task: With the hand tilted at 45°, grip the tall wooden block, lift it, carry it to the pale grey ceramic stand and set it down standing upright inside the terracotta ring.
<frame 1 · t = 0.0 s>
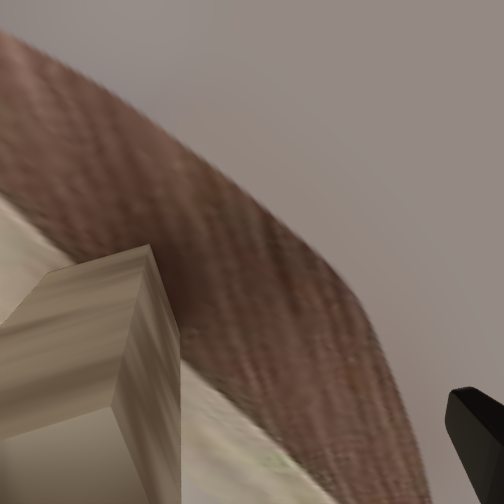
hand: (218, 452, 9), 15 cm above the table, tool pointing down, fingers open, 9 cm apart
wooden block: (116, 304, 24), on the table
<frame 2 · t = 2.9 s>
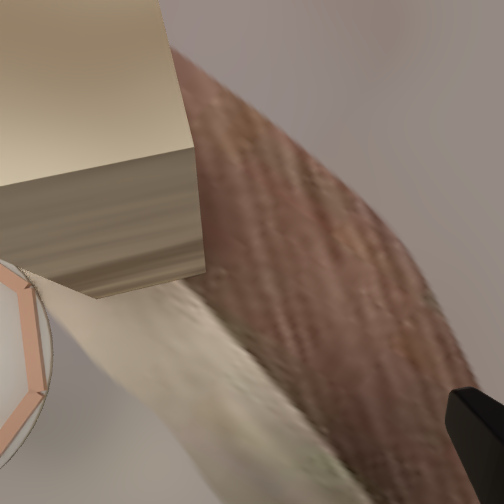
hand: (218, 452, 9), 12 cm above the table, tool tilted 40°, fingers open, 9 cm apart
wooden block: (140, 233, 22), on the table
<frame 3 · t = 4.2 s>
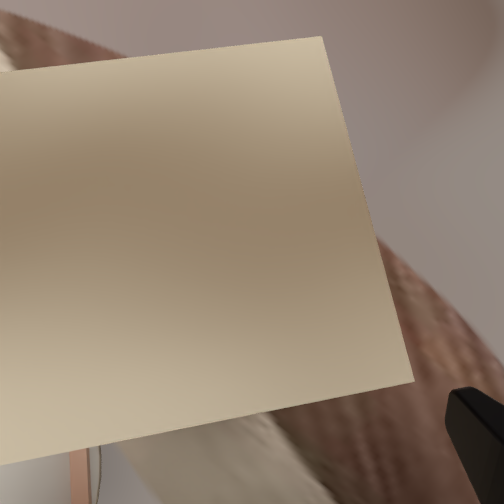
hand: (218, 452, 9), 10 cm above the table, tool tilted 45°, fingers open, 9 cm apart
wooden block: (206, 336, 19), on the table
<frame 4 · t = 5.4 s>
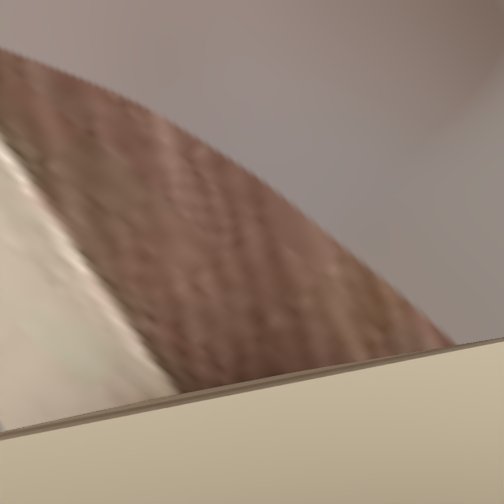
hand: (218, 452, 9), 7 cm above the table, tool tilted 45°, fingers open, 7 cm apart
wooden block: (226, 467, 15), on the table, touching gripper
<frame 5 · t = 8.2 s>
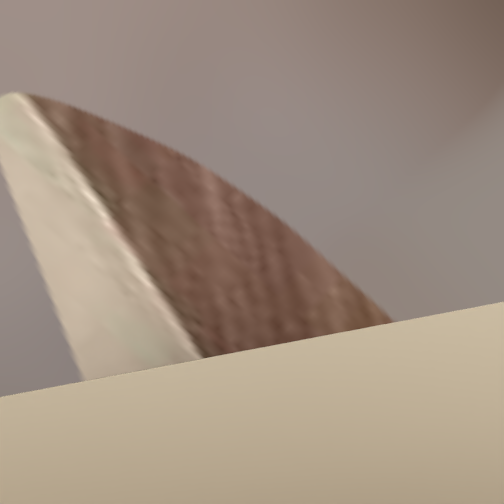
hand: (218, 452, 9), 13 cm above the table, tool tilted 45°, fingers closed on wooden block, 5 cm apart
wooden block: (228, 467, 15), point 6 cm above the table, touching gripper
when the fingers open (8 cm above the table, at t = 10.7 s): wooden block stays where it is, resting on ring stand.
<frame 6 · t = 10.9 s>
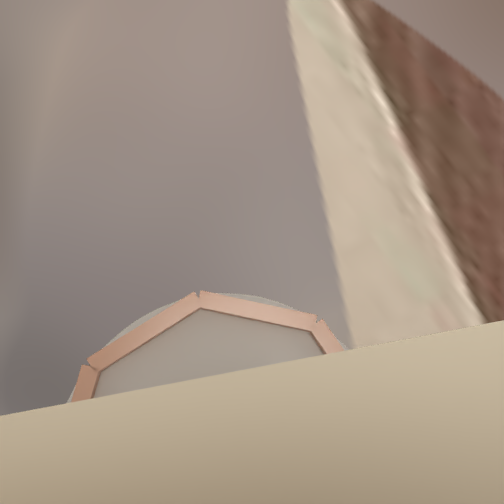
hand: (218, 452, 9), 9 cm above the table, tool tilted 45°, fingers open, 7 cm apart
ring stand: (226, 460, 16), on the table
wooden block: (224, 469, 16), point 1 cm above the table, touching ring stand
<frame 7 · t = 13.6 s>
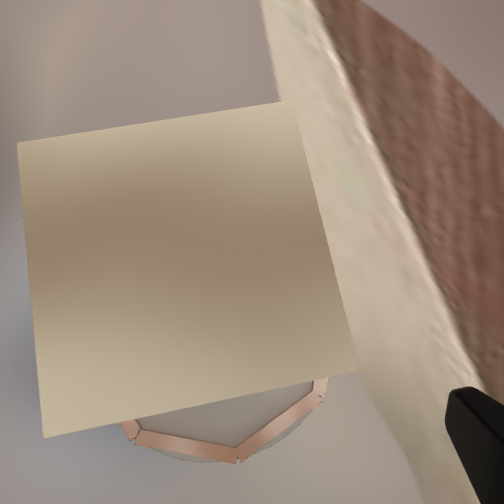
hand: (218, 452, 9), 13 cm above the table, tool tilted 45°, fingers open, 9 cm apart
ring stand: (212, 326, 22), on the table
wooden block: (210, 329, 22), resting on ring stand
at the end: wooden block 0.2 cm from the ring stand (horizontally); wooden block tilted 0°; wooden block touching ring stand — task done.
